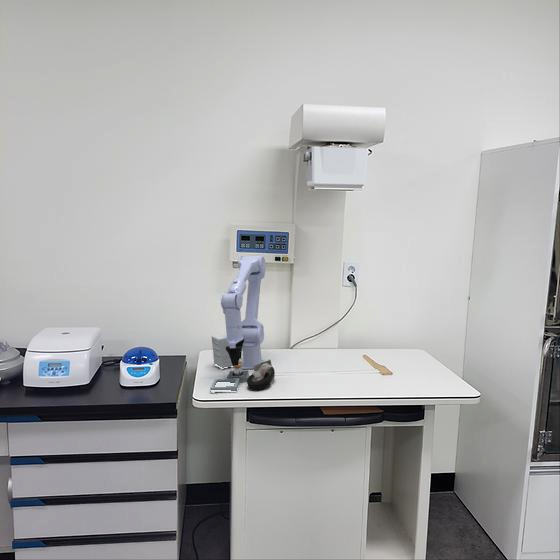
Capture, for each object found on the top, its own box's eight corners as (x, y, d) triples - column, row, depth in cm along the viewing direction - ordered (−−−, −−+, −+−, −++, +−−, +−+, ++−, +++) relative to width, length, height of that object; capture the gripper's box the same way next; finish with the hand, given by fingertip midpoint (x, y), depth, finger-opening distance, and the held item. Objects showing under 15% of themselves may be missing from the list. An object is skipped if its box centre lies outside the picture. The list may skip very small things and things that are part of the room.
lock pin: (234, 377, 186) (233, 362, 185) (243, 377, 186) (241, 361, 185) (233, 380, 183) (232, 365, 182) (242, 380, 183) (240, 364, 182)
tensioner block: (230, 376, 188) (229, 371, 188) (248, 375, 188) (248, 370, 188) (227, 382, 181) (227, 377, 181) (246, 381, 181) (246, 376, 181)
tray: (215, 384, 181) (214, 379, 181) (239, 382, 181) (239, 378, 180) (210, 393, 172) (210, 388, 172) (236, 392, 172) (236, 386, 171)
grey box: (230, 361, 206) (227, 332, 204) (238, 366, 200) (235, 335, 198) (213, 366, 202) (210, 335, 201) (221, 370, 196) (219, 339, 194)
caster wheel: (253, 399, 171) (245, 385, 180) (283, 386, 174) (273, 374, 183) (249, 382, 169) (240, 370, 178) (279, 370, 172) (269, 358, 181)
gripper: (225, 322, 189) (228, 356, 191) (219, 331, 175) (223, 368, 177) (244, 320, 189) (247, 355, 191) (239, 330, 174) (242, 367, 176)
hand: (236, 362), depth 184 cm, fingers open, 7 cm apart
